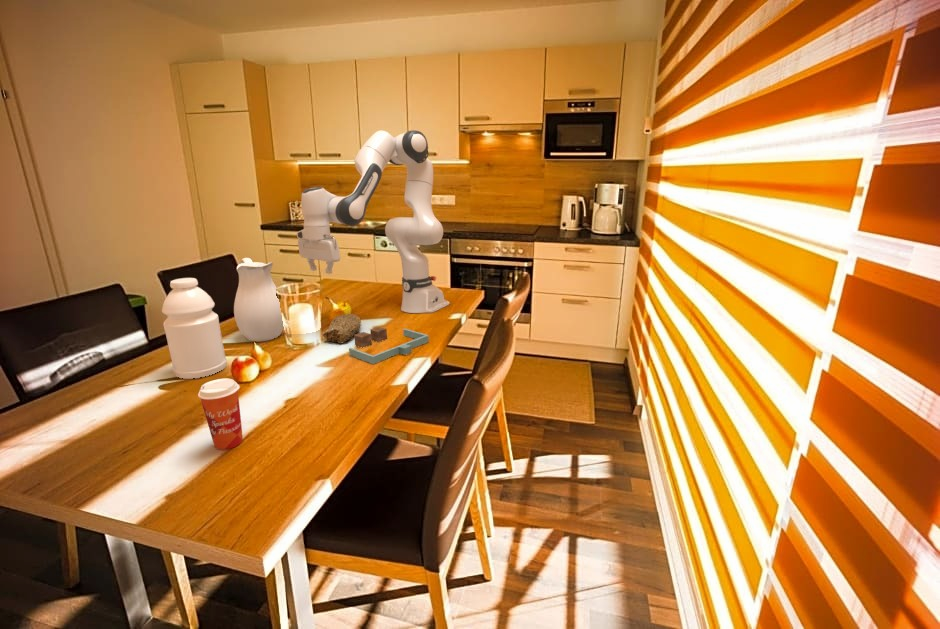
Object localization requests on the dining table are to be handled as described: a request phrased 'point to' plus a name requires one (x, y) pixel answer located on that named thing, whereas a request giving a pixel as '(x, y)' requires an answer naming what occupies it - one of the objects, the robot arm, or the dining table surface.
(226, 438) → the paper cup
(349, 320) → the rough brown rock
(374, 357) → the grey piece
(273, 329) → the pitcher
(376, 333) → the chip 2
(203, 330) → the bottle
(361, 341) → the chip
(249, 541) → the dining table surface
